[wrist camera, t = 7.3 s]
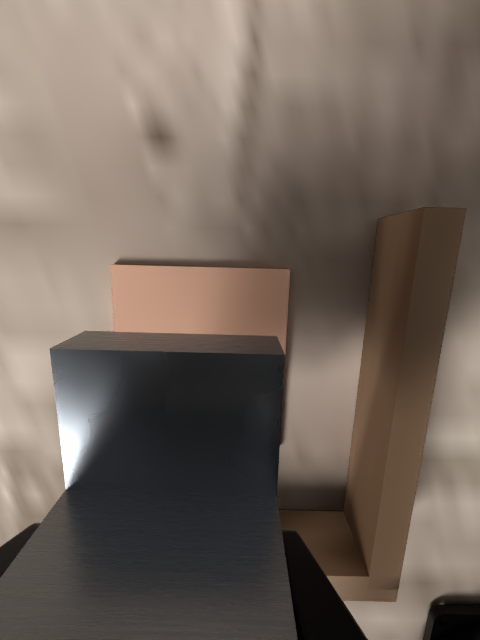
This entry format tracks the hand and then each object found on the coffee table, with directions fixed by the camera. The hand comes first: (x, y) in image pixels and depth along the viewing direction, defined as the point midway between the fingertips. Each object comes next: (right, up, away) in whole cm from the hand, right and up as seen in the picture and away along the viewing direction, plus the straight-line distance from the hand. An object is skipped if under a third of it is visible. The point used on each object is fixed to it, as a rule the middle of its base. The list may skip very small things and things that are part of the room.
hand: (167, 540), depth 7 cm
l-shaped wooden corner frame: (+1, +2, +6) cm, 7 cm away
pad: (0, +3, +6) cm, 7 cm away
